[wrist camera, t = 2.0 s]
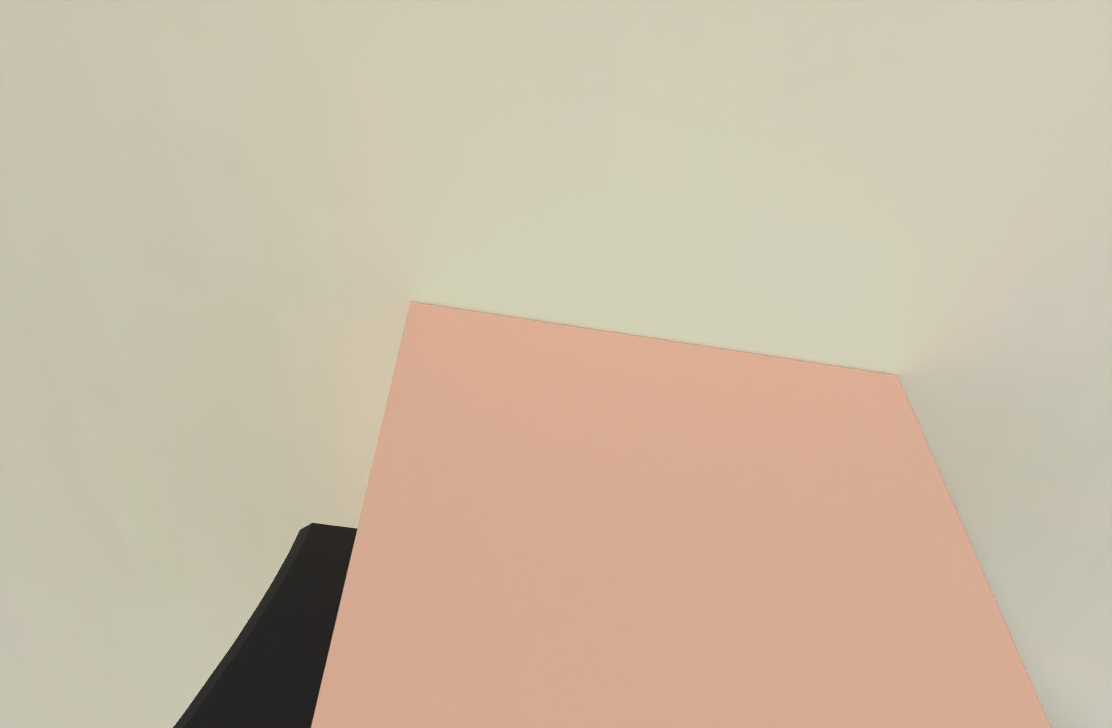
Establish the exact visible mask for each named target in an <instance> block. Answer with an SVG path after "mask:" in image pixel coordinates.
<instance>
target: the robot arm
mask: <svg viewBox="0 0 1112 728" xmlns="http://www.w3.org/2000/svg"><path fill="white" fill-rule="evenodd" d="M356 533H357V529H355V528H347V527H340V526H332V525H324V524H317V523H312V524H310V525H308V526H306V527H304V528H303V529H301V530H300V531H299V533H298V535H297V537H296V539H295V542H294V544H293V546H292V548H291V550H290V552H289V554H288V555H287V557H286V559H285V561H284V563H283V564H282V566H281V568H280V570H279V572H278V573H277V575H276V577H275V579H274V580H273V582H272V584H271V585H270V587H269V589H268V590H267V592H266V594H265V595H264V597H263V599H262V600H261V602H260V603H259V605H258V607H257V608H256V610H255V611H254V613H253V614H252V616H251V617H250V619H249V621H248V622H247V624H246V625H245V627H244V628H243V630H242V631H241V633H240V634H239V636H238V638H237V639H236V641H235V642H234V644H233V645H232V646H231V648H230V649H229V651H228V652H227V654H226V655H225V656H224V658H223V659H222V661H221V662H220V663H219V665H218V666H217V668H216V669H215V670H214V672H213V673H212V675H211V676H210V678H209V679H208V680H207V682H206V683H205V685H204V686H203V687H202V689H201V690H200V692H199V693H198V694H197V696H196V697H195V699H194V700H193V701H192V703H191V704H190V706H189V707H188V709H187V710H186V711H185V713H184V714H183V715H182V717H181V718H180V719H179V721H178V722H177V723H176V725H175V726H174V727H173V728H311V725H312V721H313V717H314V713H315V708H316V704H317V700H318V696H319V691H320V687H321V683H322V678H323V674H324V670H325V666H326V661H327V657H328V653H329V648H330V644H331V640H332V636H333V631H334V627H335V623H336V619H337V614H338V610H339V606H340V601H341V597H342V593H343V589H344V584H345V580H346V576H347V572H348V567H349V563H350V559H351V554H352V550H353V546H354V542H355V537H356Z"/></svg>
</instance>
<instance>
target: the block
mask: <svg viewBox="0 0 1112 728" xmlns="http://www.w3.org/2000/svg"><path fill="white" fill-rule="evenodd" d="M311 728H1051V726H1050V724H1049V721H1048V719H1047V717H1046V715H1045V712H1044V710H1043V708H1042V705H1041V703H1040V701H1039V699H1038V696H1037V694H1036V692H1035V689H1034V687H1033V685H1032V682H1031V680H1030V678H1029V676H1028V673H1027V671H1026V669H1025V666H1024V664H1023V662H1022V660H1021V657H1020V655H1019V653H1018V650H1017V648H1016V646H1015V644H1014V641H1013V639H1012V637H1011V634H1010V632H1009V630H1008V627H1007V625H1006V623H1005V621H1004V618H1003V616H1002V614H1001V611H1000V609H999V607H998V605H997V602H996V600H995V598H994V595H993V593H992V591H991V589H990V586H989V584H988V582H987V579H986V577H985V575H984V572H983V570H982V568H981V566H980V563H979V561H978V559H977V556H976V554H975V552H974V550H973V547H972V545H971V543H970V540H969V538H968V536H967V534H966V531H965V529H964V527H963V524H962V522H961V520H960V517H959V515H958V513H957V511H956V508H955V506H954V504H953V501H952V499H951V497H950V495H949V492H948V490H947V488H946V485H945V483H944V481H943V479H942V476H941V474H940V472H939V469H938V467H937V465H936V462H935V460H934V458H933V456H932V453H931V451H930V449H929V446H928V444H927V442H926V440H925V437H924V435H923V433H922V430H921V428H920V426H919V423H918V421H917V419H916V417H915V414H914V412H913V410H912V407H911V405H910V403H909V401H908V398H907V396H906V394H905V391H904V389H903V387H902V385H901V382H900V380H899V378H898V376H897V375H890V374H883V373H877V372H870V371H864V370H857V369H850V368H844V367H837V366H831V365H824V364H817V363H811V362H804V361H798V360H791V359H784V358H778V357H771V356H765V355H758V354H751V353H745V352H738V351H732V350H725V349H718V348H712V347H705V346H699V345H692V344H685V343H679V342H672V341H666V340H659V339H652V338H646V337H639V336H633V335H626V334H620V333H613V332H606V331H600V330H593V329H587V328H580V327H573V326H567V325H560V324H554V323H547V322H540V321H534V320H527V319H521V318H514V317H507V316H501V315H494V314H488V313H481V312H474V311H468V310H461V309H455V308H448V307H441V306H435V305H428V304H422V303H415V302H410V307H409V311H408V315H407V319H406V324H405V328H404V332H403V336H402V341H401V345H400V349H399V354H398V358H397V362H396V366H395V371H394V375H393V379H392V383H391V388H390V392H389V396H388V401H387V405H386V409H385V413H384V418H383V422H382V426H381V430H380V435H379V439H378V443H377V448H376V452H375V456H374V460H373V465H372V469H371V473H370V477H369V482H368V486H367V490H366V495H365V499H364V503H363V507H362V512H361V516H360V520H359V525H358V529H357V533H356V537H355V542H354V546H353V550H352V554H351V559H350V563H349V567H348V572H347V576H346V580H345V584H344V589H343V593H342V597H341V601H340V606H339V610H338V614H337V619H336V623H335V627H334V631H333V636H332V640H331V644H330V648H329V653H328V657H327V661H326V666H325V670H324V674H323V678H322V683H321V687H320V691H319V696H318V700H317V704H316V708H315V713H314V717H313V721H312V725H311Z"/></svg>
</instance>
